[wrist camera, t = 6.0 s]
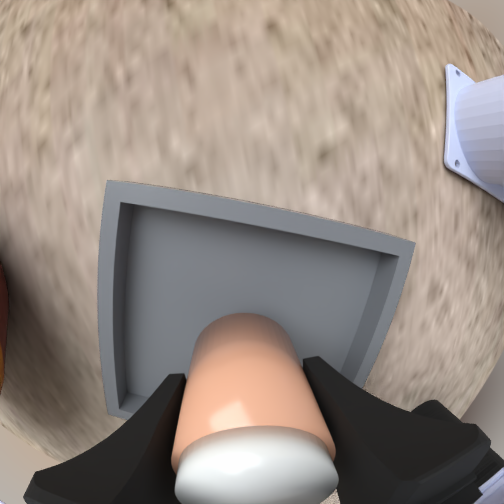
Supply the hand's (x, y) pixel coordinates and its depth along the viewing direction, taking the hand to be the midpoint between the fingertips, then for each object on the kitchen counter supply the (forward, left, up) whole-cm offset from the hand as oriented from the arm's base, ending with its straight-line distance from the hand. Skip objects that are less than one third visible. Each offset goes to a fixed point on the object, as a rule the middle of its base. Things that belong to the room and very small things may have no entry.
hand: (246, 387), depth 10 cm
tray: (0, 0, -5) cm, 5 cm away
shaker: (0, 0, -2) cm, 2 cm away
